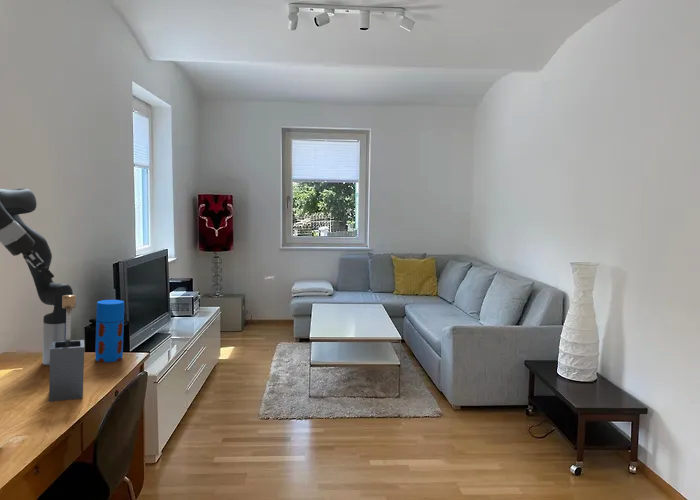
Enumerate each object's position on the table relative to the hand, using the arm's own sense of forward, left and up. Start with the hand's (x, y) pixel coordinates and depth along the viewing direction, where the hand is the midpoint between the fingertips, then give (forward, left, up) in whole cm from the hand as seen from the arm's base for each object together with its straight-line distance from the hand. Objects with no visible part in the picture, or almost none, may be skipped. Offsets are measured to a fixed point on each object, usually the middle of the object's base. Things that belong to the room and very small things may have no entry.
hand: (49, 276), depth 164 cm
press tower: (0, +6, -42) cm, 42 cm away
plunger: (0, +6, -33) cm, 33 cm away
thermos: (-40, +21, -42) cm, 62 cm away
